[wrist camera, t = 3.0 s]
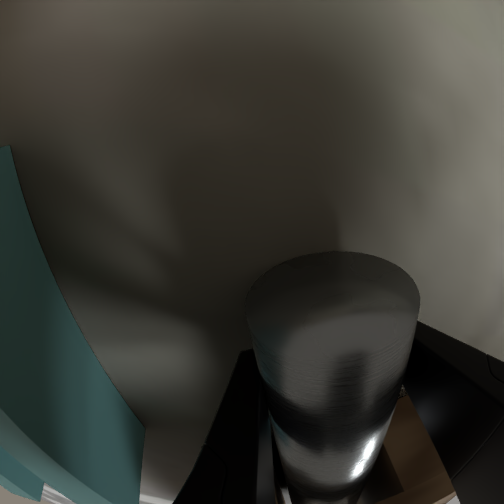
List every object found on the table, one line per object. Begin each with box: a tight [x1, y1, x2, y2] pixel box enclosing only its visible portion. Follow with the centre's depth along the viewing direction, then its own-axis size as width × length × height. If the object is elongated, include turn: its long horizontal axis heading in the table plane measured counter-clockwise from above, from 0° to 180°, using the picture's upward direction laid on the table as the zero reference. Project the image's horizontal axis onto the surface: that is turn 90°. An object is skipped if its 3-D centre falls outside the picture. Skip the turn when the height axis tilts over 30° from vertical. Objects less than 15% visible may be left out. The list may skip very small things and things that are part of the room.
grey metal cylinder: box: [245, 251, 420, 504], centre depth 11 cm, size 4×18×4 cm, turn 9°
